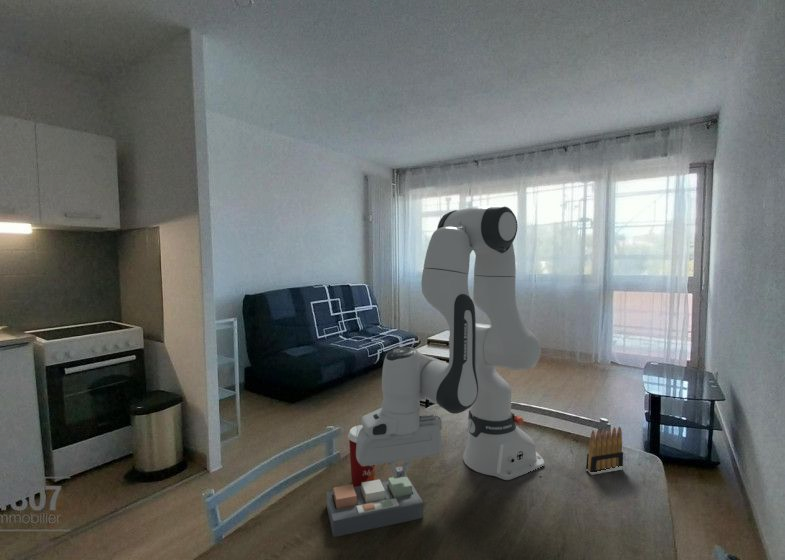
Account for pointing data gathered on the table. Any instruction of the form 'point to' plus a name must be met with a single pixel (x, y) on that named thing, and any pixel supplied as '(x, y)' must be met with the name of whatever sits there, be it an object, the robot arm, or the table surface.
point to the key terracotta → (344, 496)
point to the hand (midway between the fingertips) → (399, 476)
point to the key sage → (399, 486)
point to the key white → (372, 491)
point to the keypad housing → (373, 512)
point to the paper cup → (357, 471)
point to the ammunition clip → (605, 450)
